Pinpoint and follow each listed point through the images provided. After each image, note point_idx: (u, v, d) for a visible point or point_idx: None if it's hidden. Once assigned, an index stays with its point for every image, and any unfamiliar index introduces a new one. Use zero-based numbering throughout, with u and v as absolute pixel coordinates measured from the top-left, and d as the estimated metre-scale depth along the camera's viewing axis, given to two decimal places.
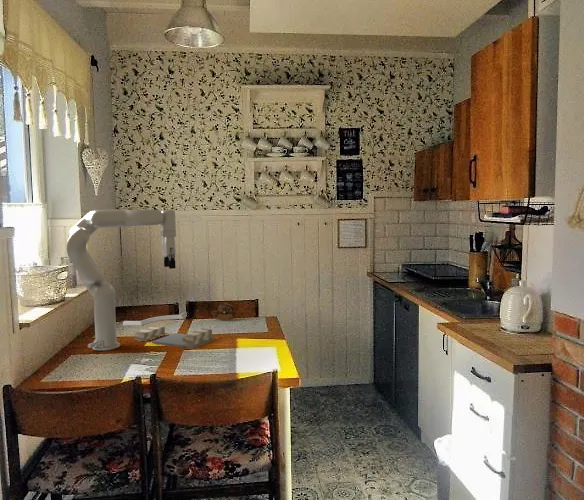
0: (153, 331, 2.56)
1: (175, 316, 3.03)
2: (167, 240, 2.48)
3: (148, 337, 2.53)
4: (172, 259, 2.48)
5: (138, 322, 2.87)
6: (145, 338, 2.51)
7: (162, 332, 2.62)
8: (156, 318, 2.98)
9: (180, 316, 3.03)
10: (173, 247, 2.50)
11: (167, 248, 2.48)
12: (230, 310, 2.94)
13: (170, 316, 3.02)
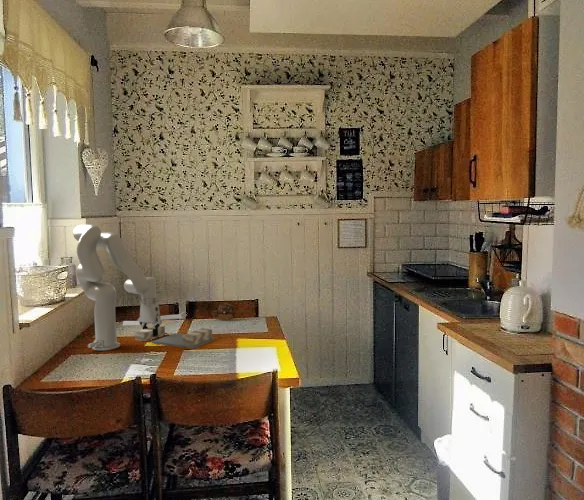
0: None
1: (174, 316, 3.04)
2: None
3: (148, 337, 2.53)
4: None
5: (138, 322, 2.88)
6: (145, 338, 2.51)
7: (162, 332, 2.63)
8: None
9: (179, 316, 3.04)
10: None
11: None
12: (230, 310, 2.94)
13: (169, 316, 3.03)
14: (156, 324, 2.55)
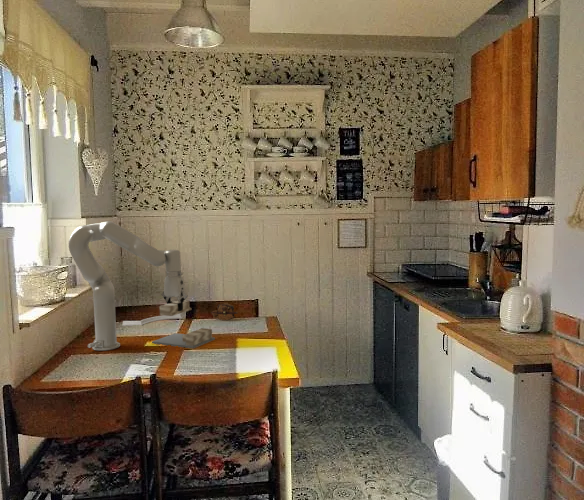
0: None
1: (174, 316, 3.04)
2: None
3: (173, 311, 2.45)
4: None
5: (138, 322, 2.88)
6: (171, 311, 2.43)
7: (187, 306, 2.54)
8: (155, 318, 2.99)
9: (179, 315, 3.05)
10: None
11: None
12: (230, 310, 2.94)
13: (169, 316, 3.04)
14: (181, 298, 2.47)
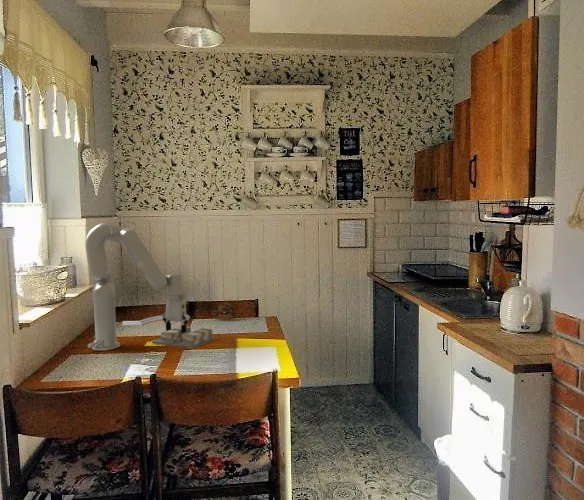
0: (179, 332, 2.49)
1: None
2: None
3: (175, 338, 2.45)
4: None
5: (138, 322, 2.88)
6: (172, 339, 2.43)
7: None
8: (155, 318, 2.99)
9: None
10: None
11: None
12: (230, 310, 2.94)
13: None
14: (185, 320, 2.47)
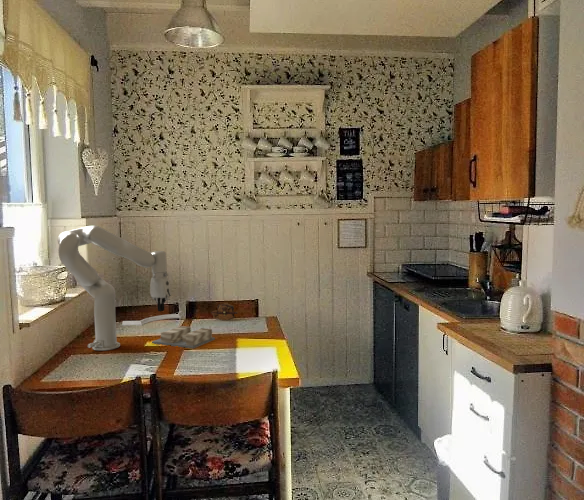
0: (179, 332, 2.49)
1: (172, 315, 3.06)
2: None
3: (175, 338, 2.45)
4: None
5: (138, 322, 2.88)
6: (172, 339, 2.43)
7: None
8: (154, 318, 2.99)
9: (177, 315, 3.06)
10: None
11: None
12: (230, 310, 2.94)
13: (168, 315, 3.05)
14: (162, 299, 2.52)
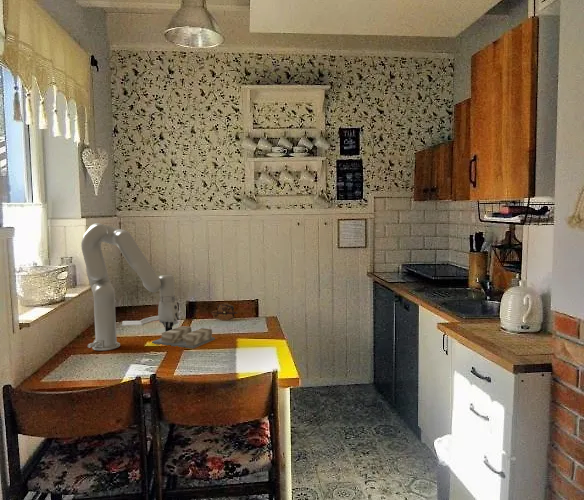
0: (180, 332, 2.49)
1: None
2: None
3: (175, 338, 2.45)
4: None
5: (138, 322, 2.88)
6: (173, 339, 2.43)
7: None
8: (154, 317, 3.00)
9: None
10: None
11: None
12: (230, 310, 2.94)
13: None
14: (170, 323, 2.51)
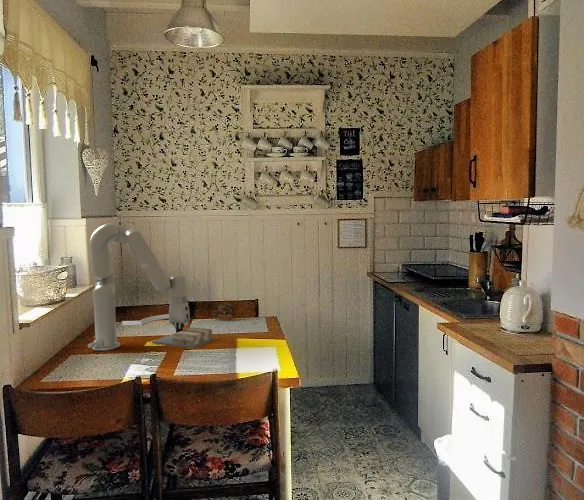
0: None
1: None
2: None
3: None
4: None
5: (138, 322, 2.88)
6: None
7: None
8: (153, 317, 3.00)
9: None
10: None
11: None
12: (230, 310, 2.94)
13: (167, 315, 3.05)
14: (181, 324, 2.48)
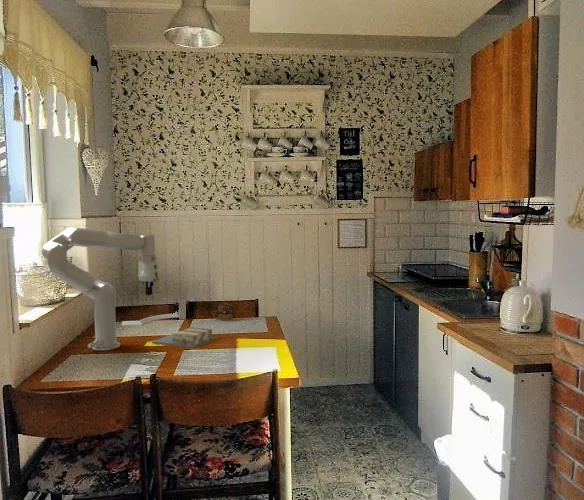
0: None
1: (171, 315, 3.07)
2: None
3: None
4: None
5: (138, 322, 2.88)
6: None
7: None
8: (153, 317, 3.00)
9: (176, 315, 3.08)
10: None
11: None
12: (230, 310, 2.94)
13: (166, 315, 3.06)
14: (150, 282, 2.50)
